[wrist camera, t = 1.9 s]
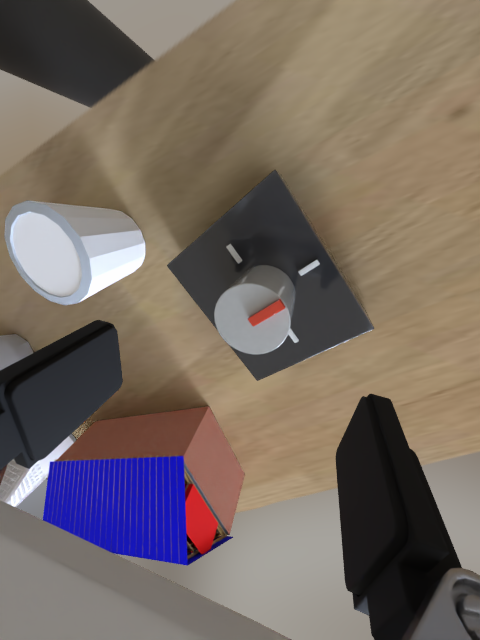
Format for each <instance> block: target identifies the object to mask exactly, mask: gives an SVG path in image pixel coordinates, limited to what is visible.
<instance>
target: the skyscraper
mask: <svg viewBox="0 0 480 640" xmlns="http://www.w3.org/2000/svg"><path fill="white" fill-rule="evenodd" d="M76 440H77V439H76V438H75V437H74V436H73V435H72V434H70V435H69V436H68V437H67V438H66V439H65V440H64V441H63V442H62V443H61V444H60V445H59V446H58V447H56V448H55V449H54V450H53V451H52V452H51V453H50V454H49V455H48V456H47V457H45V458H44V459H42V460H39V461H38V462H36V463H35V464H34V465H33V466H32V467H31V468H30V469H28V468H25V467H23V466H21V465H18V464H16V462H15V460H14V459H13V460H12V461H10V462H9V463H8V464H7V468H6V471H5V473H4V476H3V479H2V482H1V485H0V500H1V501H3V502H5V503H7V504H9V505H11V506H14V507H17V506H18V505H19V504H20V503H21V502H22V501H23V500H24V499H25V498H26V497H27V496H28V495H29V494H30V493H31V492H33V491H34V490H35V489H36V488H37V487H38V486H39V485H40V484H41V483H42V482H43V481H44V480H45V479H46V478H47V477H48V474H49V465H50V462H52V461H55V460H56V459H58V458H59V457H60V456H61V455H62V454H63V453H64V452H65V451H66V450H67V449H68V448H69V447H70V446H71V445H72V444H73V443H74V442H75V441H76Z"/></svg>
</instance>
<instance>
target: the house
mask: <svg viewBox="0 0 480 640" xmlns="http://www.w3.org/2000/svg"><path fill="white" fill-rule="evenodd" d="M184 472H185V473H184ZM244 475H245V474H244V472H243V470H242V468H241V466H240V464H239V462H238V460H237V459H236V457H235V455H234V453H233V451H232V449H231V447H230V445H229V443H228V441H227V440H226V438H225V436H224V434H223V432H222V430H221V428H220V426H219V424H218V422H217V421H216V419H215V417H214V415H213V413H212V411H211V409H210V407H209V406H208V407H200V408H193V409H185V410H177V411H170V412H162V413H154V414H146V415H139V416H131V417H123V418H116V419H108V420H100V421H95V422H94V423H93V424H92V425H91V426H90V427H89V428H88V429H87V430H86V431H85V432H84V433H83V434H82V435H81V436H80V437H79V438H78V439H77V440H76V441H75V442H74V443H73V444H72V445H71V446H70V447H69V448H68V449H67V450H66V451H65V452H64V453H63V454H62V455H61V456H60V457H59V458H58V459H56V460H55V461H52V462H50V465H49V474H48V482H47V491H46V499H45V507H44V516H43V520H44V521H46V522H48V523H50V524H52V525H54V526H56V527H58V528H61V529H63V530H65V531H67V532H69V533H71V534H73V535H75V536H78V537H80V538H82V539H84V540H86V541H88V542H90V543H92V544H95V545H97V546H99V547H101V548H103V549H105V550H107V551H109V552H111V553H116V554H121V555H128V556H133V557H139V558H146V559H152V560H159V561H164V562H170V563H176V564H183V565H189V564H191V563H192V562H194V561H196V560H197V559H199V558H200V557H202V556H203V555H205V554H207V553H208V552H210V551H212V550H213V549H215V548H216V547H218V546H220V545H221V544H223V543H224V542H226V541H228V540H229V539H231V538H233V537H229V536H227V535H229V534H230V531H231V527H232V523H233V519H234V515H235V511H236V507H237V503H238V499H239V495H240V491H241V487H242V483H243V479H244ZM220 535H221V536H220Z"/></svg>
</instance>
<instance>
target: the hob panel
mask: <svg viewBox="0 0 480 640" xmlns="http://www.w3.org/2000/svg"><path fill="white" fill-rule="evenodd" d="M260 265H268V266H273V267H275V268H278V269H280V270H281V271H283V272H284V273H285V274H286V275H287V276H288V277H289V278H290V279H291V281H292V283H293V285H294V288H295V294H296V297H295V304H294V309H293V315H292V320H291V325H290V330H289V333H288V336H287V338H286V339H285V341H284V342H283V343H282V344H281V345H280V346H279V347H278V348H276V349H274V350H273V351H270V352H268V353H264V354H248V353H244V352H241V351H239V350H237V349H235V348H233V347H232V346H230V347H231V348H232V349H233V351H234V352H235V353H236V354H237V356H238V357H239V358H240V360H241V361H242V362H243V363H244V365H245V366H246V367H247V368H248V370H249V371H250V372H251V374H252V375H253V376H254V377H255V379H256V380H257V381H258V380H260V379H263V378H265V377H267V376H269V375H272V374H274V373H276V372H278V371H281V370H283V369H285V368H287V367H290V366H292V365H294V364H296V363H299V362H301V361H303V360H305V359H308V358H310V357H312V356H314V355H317V354H319V353H321V352H323V351H326V350H328V349H330V348H332V347H335V346H337V345H339V344H341V343H344V342H346V341H348V340H350V339H353V338H355V337H357V336H359V335H362V334H364V333H366V332H368V331H371V330H373V329H374V327H373V325H372V323H371V320H370V318H369V316H368V314H367V312H366V310H365V309H364V307H363V306H362V304H361V302H360V301H359V299H358V298H357V296H356V294H355V293H354V291H353V289H352V288H351V286H350V285H349V283H348V281H347V280H346V278H345V277H344V275H343V273H342V272H341V270H340V269H339V267H338V265H337V264H336V262H335V260H334V259H333V257H332V256H331V254H330V252H329V251H328V249H327V248H326V246H325V244H324V243H323V241H322V239H321V238H320V236H319V235H318V233H317V231H316V230H315V228H314V227H313V225H312V223H311V222H310V220H309V218H308V217H307V215H306V214H305V212H304V210H303V209H302V207H301V206H300V204H299V202H298V201H297V199H296V198H295V196H294V194H293V193H292V191H291V189H290V188H289V186H288V185H287V183H286V181H285V180H284V178H283V177H282V175H281V174H280V173H279V172H278V171H276V170H274V171H272V172H271V173H270V174H269V175H268V176H267V177H266V178H265V179H263V180H262V181H261V182H260V183H259V184H258V185H257V186H256V187H254V188H253V189H252V190H251V191H250V192H249V193H248V194H247V195H245V196H244V197H243V198H242V199H241V200H240V201H239V202H238V203H236V204H235V205H234V206H233V207H232V208H231V209H230V210H229V211H227V212H226V213H225V214H224V215H223V216H222V217H221V218H220V219H218V220H217V221H216V222H215V223H214V224H213V225H212V226H211V227H209V228H208V229H207V230H206V231H205V232H204V233H203V234H202V235H200V236H199V237H198V238H197V239H196V240H195V241H194V242H193V243H191V244H190V245H189V246H188V247H187V248H186V249H185V250H184V251H182V252H181V253H180V254H179V255H178V256H177V257H176V258H175V259H173V260H172V261H171V262H170V263H169V264H168V265H167V266H168V268H169V269H170V270H171V271H172V273H173V274H174V275H175V277H176V278H177V279H178V280H179V282H180V283H181V284H182V286H183V287H184V288H185V289H186V291H187V292H188V293H189V294H190V296H191V297H192V298H193V300H194V301H195V302H196V303H197V305H198V306H199V307H200V308H201V310H202V311H203V312H204V314H205V315H206V316H207V317H208V319H209V320H210V321H211V323H212V324H213V325H214V326H215V328H216V329H217V327H216V324H215V318H214V311H215V306H216V303H217V301H218V299H219V298H220V296H221V295H222V294H223V293H224V292H225V291H226V290H227V289H228V288H229V287H230V286H231V285H232V284H233V283H234V282H235V281H236V280H237V279H238V278H239V277H240V276H241V275H242V274H243V273H244V272H245V271H246V270H248V269H250V268H252V267H255V266H260Z"/></svg>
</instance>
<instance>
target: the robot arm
mask: <svg viewBox="0 0 480 640" xmlns="http://www.w3.org/2000/svg"><path fill="white" fill-rule="evenodd" d="M122 382H123V379H122V370H121V361H120V352H119V343H118V334H117V330H116V329H115V327H114V325H113V324H111V323H108V322H105V321H101V320H96V321H94V322H92V323H90V324H88V325H86V326H84V327H82V328H80V329H78V330H76V331H74V332H73V333H71V334H69V335H67V336H65V337H63V338H61V339H59V340H57V341H55V342H53V343H52V344H50V345H48V346H46V347H44V348H42V349H40V350H38V351H36V352H34V353H32V354H31V355H29V356H27V357H25V358H23V359H21V360H19V361H17V362H15V363H13V364H11V365H10V366H8V367H6V368H4V369H2V370H0V485H1V482H2V479H3V476H4V473H5V471H6V468H7V464H8V463H9V462H10V461H12V460H13V459H14V460H15V462H16V464H18V465H21V466H23V467H25V468H28V469H30V468H31V467H32V466H33V465H34V464H35V463H36V462H38V461H39V460H42V459H44V458H45V457H47V456H48V455H49V454H50V453H51V452H52V451H53V450H54V449H55V448H56V447H58V446H59V445H60V444H61V443H62V442H63V441H64V440H65V439H66V438H67V437H68V436H69V435H70V434H71V433H73V432H74V431H75V430H76V429H77V428H78V427H79V426H80V425H81V424H82V423H83V422H84V421H85V420H86V419H88V418H89V417H90V416H91V415H92V414H93V413H94V412H95V411H96V410H97V409H98V408H99V407H100V406H101V405H102V404H104V403H105V402H106V401H107V400H108V399H109V398H110V397H111V396H112V395H113V394H114V393H115V392H116V391H117V390H119V388H120V387H121V385H122ZM336 469H337V482H338V495H339V508H340V521H341V534H342V546H343V560H344V573H345V583H346V588H347V589H348V591H350V592H352V593H353V602H354V609H355V610H358V611H360V612H362V613H364V614H367V615H369V618H370V626H371V633H372V636H373V637H374V640H480V575H478V574H476V573H474V572H473V571H470V570H466V569H463V568H462V567H461V564H460V562H459V559H458V557H457V554H456V552H455V550H454V547H453V544H452V542H451V539H450V537H449V534H448V532H447V530H446V527H445V524H444V522H443V520H442V517H441V514H440V512H439V509H438V508H437V504H436V502H435V500H434V497H433V495H432V492H431V490H430V487H429V485H428V482H427V480H426V477H425V475H424V472H423V470H422V467H421V465H420V462H419V460H418V457H417V456H416V454H415V452H414V451H413V450H412V449H410V448H409V446H408V443H407V441H406V438H405V435H404V433H403V430H402V428H401V425H400V422H399V420H398V417H397V414H396V412H395V409H394V407H393V404H392V402H391V400H390V399H388V398H385V397H381V396H377V395H373V394H369V395H368V397H364V396H363V397H362V398H361V399H360V401H359V403H358V406H357V408H356V410H355V412H354V414H353V416H352V419H351V421H350V423H349V425H348V427H347V429H346V431H345V434H344V436H343V438H342V440H341V442H340V444H339V447H338V449H337V452H336ZM0 640H291V639H289V638H287V637H285V636H283V635H281V634H280V633H277V632H275V631H274V630H271V629H269V628H268V627H266V626H264V625H262V624H260V623H258V622H256V621H254V620H252V619H250V618H247V617H245V616H243V615H241V614H239V613H237V612H235V611H233V610H231V609H229V608H227V607H224V606H222V605H220V604H218V603H216V602H214V601H212V600H210V599H208V598H206V597H204V596H201V595H199V594H197V593H195V592H193V591H191V590H189V589H187V588H185V587H183V586H181V585H178V584H177V583H174V582H172V581H170V580H168V579H166V578H164V577H162V576H160V575H158V574H156V573H153V572H151V571H149V570H147V569H145V568H143V567H141V566H139V565H137V564H135V563H132V562H130V561H128V560H126V559H124V558H122V557H120V556H118V555H116V554H114V553H111V552H109V551H107V550H105V549H103V548H101V547H99V546H97V545H95V544H92V543H90V542H88V541H86V540H84V539H82V538H80V537H78V536H75V535H73V534H71V533H69V532H67V531H65V530H63V529H61V528H58V527H56V526H54V525H52V524H50V523H48V522H46V521H44V520H41V519H39V518H37V517H35V516H33V515H31V514H29V513H26V512H24V511H22V510H20V509H18V508H16V507H14V506H11V505H9V504H7V503H5V502H3V501H1V500H0Z"/></svg>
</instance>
